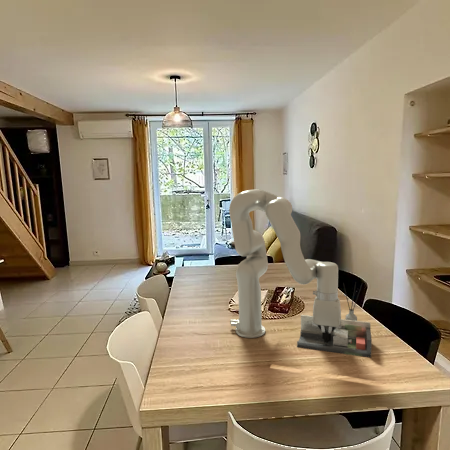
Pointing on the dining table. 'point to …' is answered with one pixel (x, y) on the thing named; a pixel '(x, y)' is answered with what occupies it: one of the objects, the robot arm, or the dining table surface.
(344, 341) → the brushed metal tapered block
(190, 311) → the dining table surface
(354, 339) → the grey compartment tray
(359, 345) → the salmon pink rectangular block
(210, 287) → the dining table surface
